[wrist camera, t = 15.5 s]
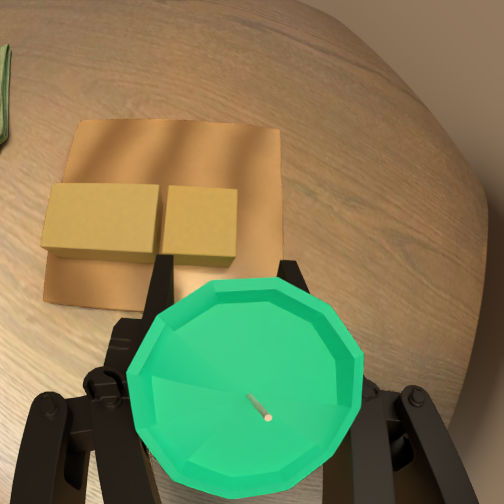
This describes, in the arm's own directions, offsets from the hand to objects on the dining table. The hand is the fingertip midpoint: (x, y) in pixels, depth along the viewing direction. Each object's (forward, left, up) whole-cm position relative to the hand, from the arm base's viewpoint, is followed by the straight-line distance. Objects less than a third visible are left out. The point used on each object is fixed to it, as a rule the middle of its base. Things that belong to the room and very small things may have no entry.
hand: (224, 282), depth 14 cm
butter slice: (+1, -4, -5) cm, 6 cm away
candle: (0, +4, -4) cm, 5 cm away
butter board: (+4, -6, -6) cm, 9 cm away
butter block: (+7, -4, -5) cm, 9 cm away
